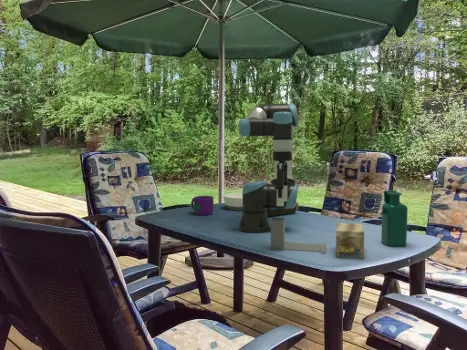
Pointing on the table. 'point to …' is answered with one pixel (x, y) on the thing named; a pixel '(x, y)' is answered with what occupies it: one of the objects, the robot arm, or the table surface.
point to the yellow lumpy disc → (346, 249)
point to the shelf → (350, 236)
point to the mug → (203, 205)
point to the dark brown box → (281, 211)
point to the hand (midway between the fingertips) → (282, 203)
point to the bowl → (234, 201)
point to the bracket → (280, 243)
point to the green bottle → (394, 220)
